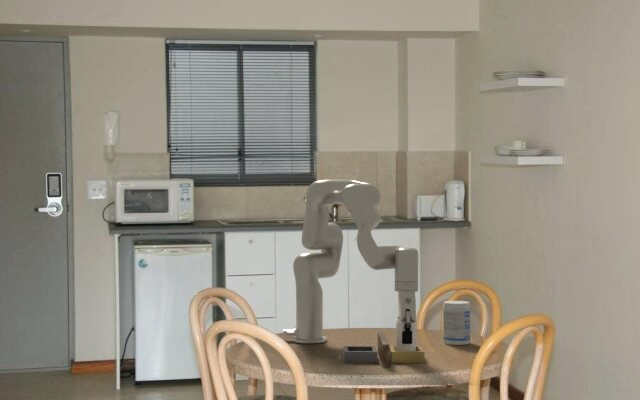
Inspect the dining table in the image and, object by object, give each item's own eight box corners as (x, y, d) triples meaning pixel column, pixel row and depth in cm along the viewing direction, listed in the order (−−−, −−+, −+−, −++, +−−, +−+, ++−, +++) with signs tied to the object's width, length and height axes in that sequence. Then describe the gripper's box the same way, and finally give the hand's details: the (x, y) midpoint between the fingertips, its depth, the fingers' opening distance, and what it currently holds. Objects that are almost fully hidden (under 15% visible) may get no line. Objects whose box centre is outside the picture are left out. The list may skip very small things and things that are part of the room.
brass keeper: (391, 362, 308) (391, 351, 308) (389, 356, 318) (389, 345, 318) (424, 362, 308) (424, 351, 308) (420, 356, 318) (420, 345, 318)
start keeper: (344, 362, 308) (344, 351, 308) (343, 356, 318) (343, 346, 318) (377, 362, 308) (377, 351, 308) (375, 356, 318) (375, 346, 318)
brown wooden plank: (382, 367, 301) (382, 344, 301) (377, 352, 325) (377, 331, 325) (389, 367, 301) (389, 344, 301) (383, 352, 325) (383, 331, 325)
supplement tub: (471, 346, 338) (471, 303, 338) (443, 345, 339) (443, 303, 338) (468, 341, 348) (468, 300, 347) (442, 340, 348) (442, 300, 348)
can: (415, 356, 309) (415, 319, 309) (394, 355, 311) (395, 318, 310) (417, 352, 316) (417, 316, 315) (397, 352, 317) (397, 315, 317)
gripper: (421, 289, 304) (420, 346, 305) (415, 283, 321) (414, 337, 322) (397, 289, 304) (396, 346, 305) (392, 283, 321) (392, 337, 322)
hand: (406, 341), depth 313 cm, fingers closed on can, 6 cm apart
